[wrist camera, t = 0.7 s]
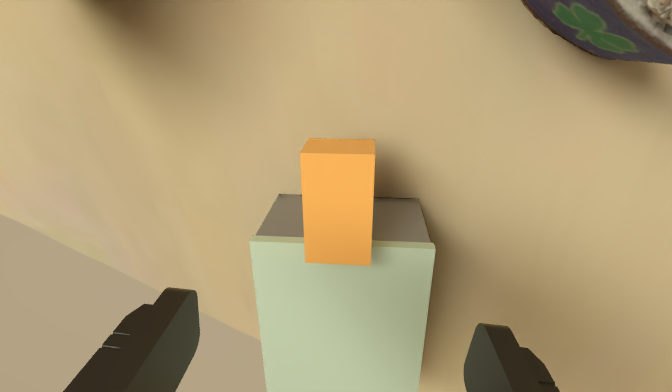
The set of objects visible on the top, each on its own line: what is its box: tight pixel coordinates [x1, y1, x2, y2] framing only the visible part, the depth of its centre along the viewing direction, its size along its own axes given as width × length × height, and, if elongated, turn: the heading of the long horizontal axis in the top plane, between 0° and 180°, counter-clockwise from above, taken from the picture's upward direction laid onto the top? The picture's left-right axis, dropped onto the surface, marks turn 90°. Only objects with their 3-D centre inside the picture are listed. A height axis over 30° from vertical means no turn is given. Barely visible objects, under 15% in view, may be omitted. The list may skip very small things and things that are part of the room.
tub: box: [256, 194, 431, 243], centre depth 32 cm, size 12×16×7 cm
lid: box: [249, 138, 436, 392], centre depth 26 cm, size 12×23×4 cm, turn 0°
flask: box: [521, 0, 672, 64], centre depth 20 cm, size 9×3×11 cm, turn 58°
